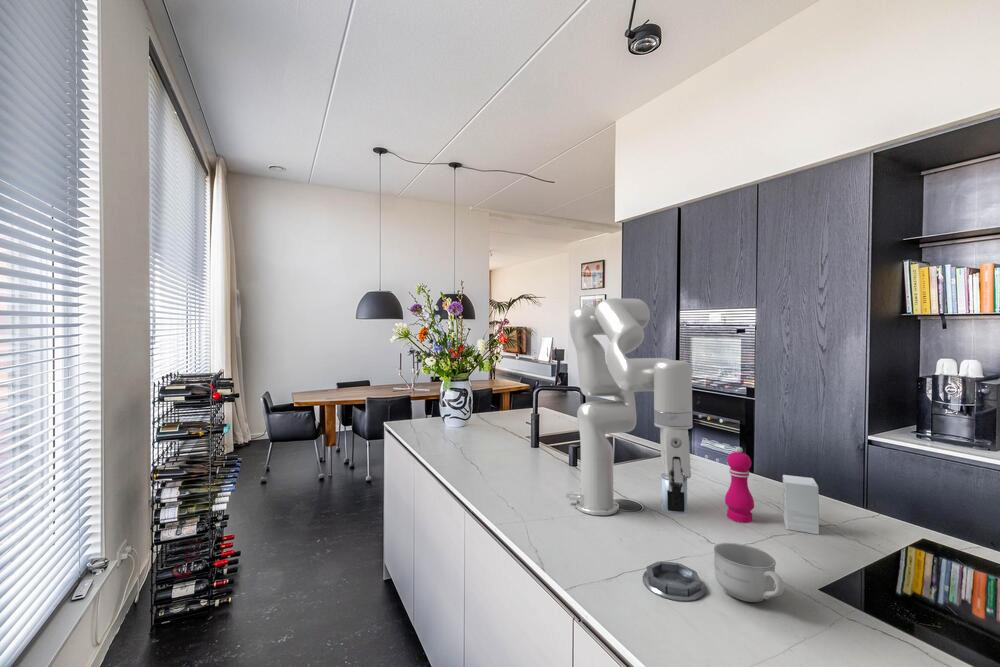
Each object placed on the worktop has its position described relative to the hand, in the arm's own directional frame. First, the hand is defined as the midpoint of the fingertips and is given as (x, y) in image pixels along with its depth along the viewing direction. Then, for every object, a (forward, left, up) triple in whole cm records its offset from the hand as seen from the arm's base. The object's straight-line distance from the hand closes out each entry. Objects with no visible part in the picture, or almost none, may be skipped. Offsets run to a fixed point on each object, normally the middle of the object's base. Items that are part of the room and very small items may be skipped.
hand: (674, 504), depth 93 cm
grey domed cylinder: (0, 0, -1) cm, 1 cm away
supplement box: (+37, +34, -16) cm, 53 cm away
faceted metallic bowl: (-1, -1, -16) cm, 16 cm away
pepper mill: (+23, +37, -16) cm, 46 cm away
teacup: (+13, -3, -16) cm, 21 cm away
